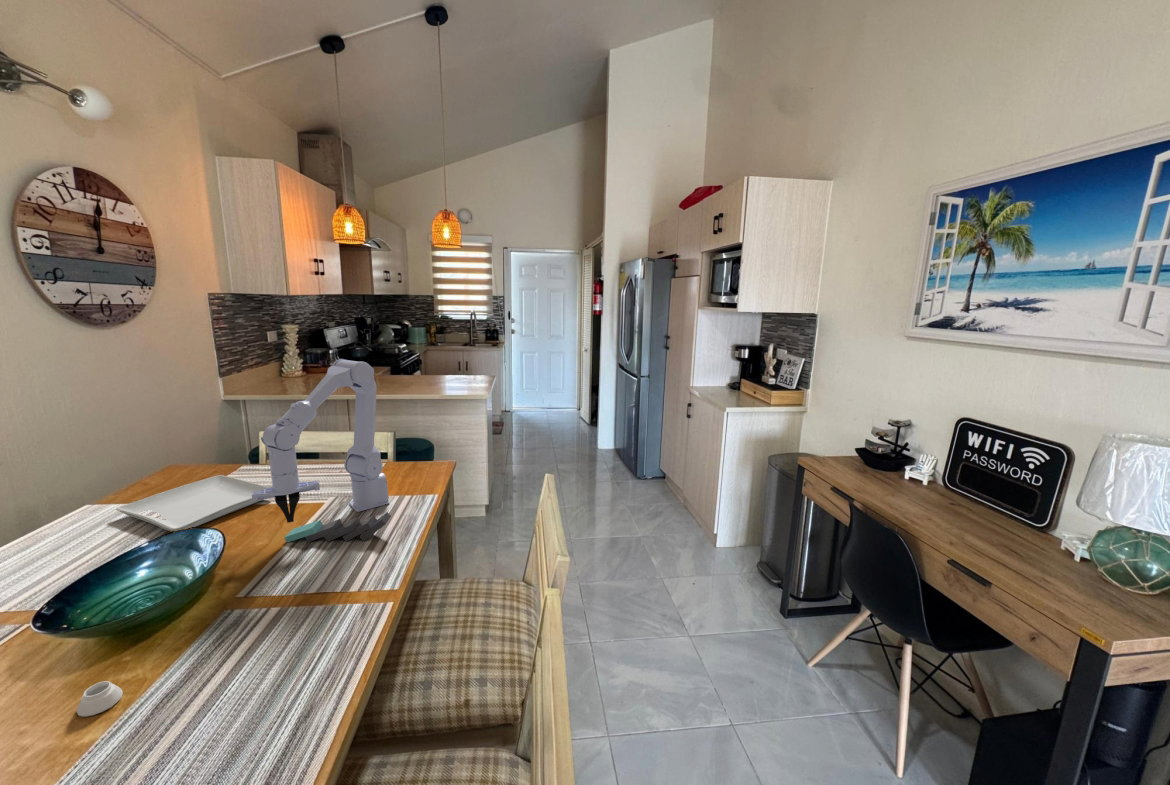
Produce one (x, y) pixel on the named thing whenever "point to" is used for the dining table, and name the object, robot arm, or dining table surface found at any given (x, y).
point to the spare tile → (303, 531)
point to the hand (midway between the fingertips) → (290, 520)
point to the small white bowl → (99, 698)
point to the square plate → (194, 502)
